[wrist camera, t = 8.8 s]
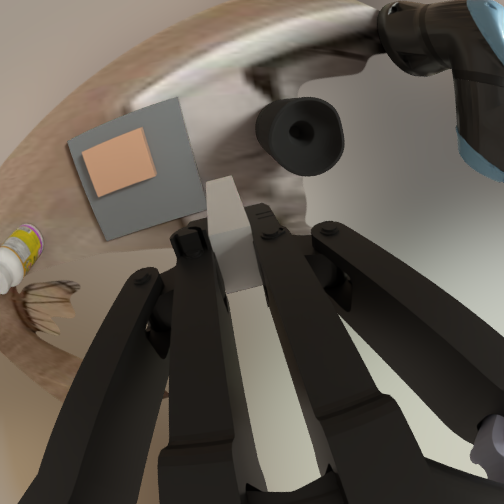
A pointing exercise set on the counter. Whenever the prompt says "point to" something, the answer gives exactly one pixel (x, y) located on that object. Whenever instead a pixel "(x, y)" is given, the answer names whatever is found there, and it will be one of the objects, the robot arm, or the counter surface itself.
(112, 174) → the tile
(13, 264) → the supplement bottle
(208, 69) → the counter surface
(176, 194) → the slate board
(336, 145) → the pen holder
